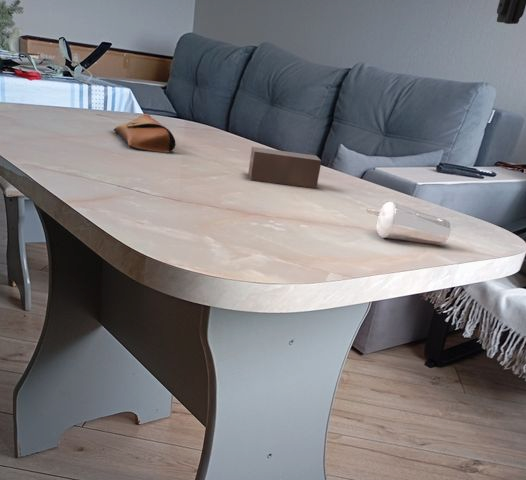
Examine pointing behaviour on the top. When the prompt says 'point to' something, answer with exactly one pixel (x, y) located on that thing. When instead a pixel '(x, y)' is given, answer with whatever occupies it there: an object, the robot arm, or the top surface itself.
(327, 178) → the top surface
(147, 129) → the sunglasses case
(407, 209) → the milkshake
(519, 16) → the robot arm
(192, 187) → the top surface
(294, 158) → the walnut pillar
